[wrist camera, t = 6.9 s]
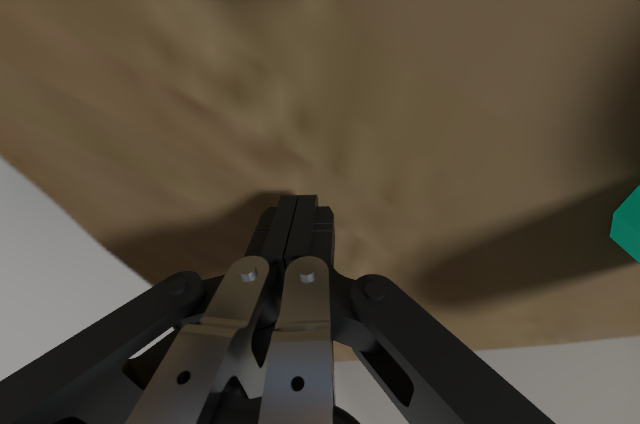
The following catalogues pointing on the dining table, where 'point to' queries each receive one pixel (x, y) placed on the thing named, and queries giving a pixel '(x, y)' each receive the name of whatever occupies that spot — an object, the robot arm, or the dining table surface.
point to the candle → (628, 225)
